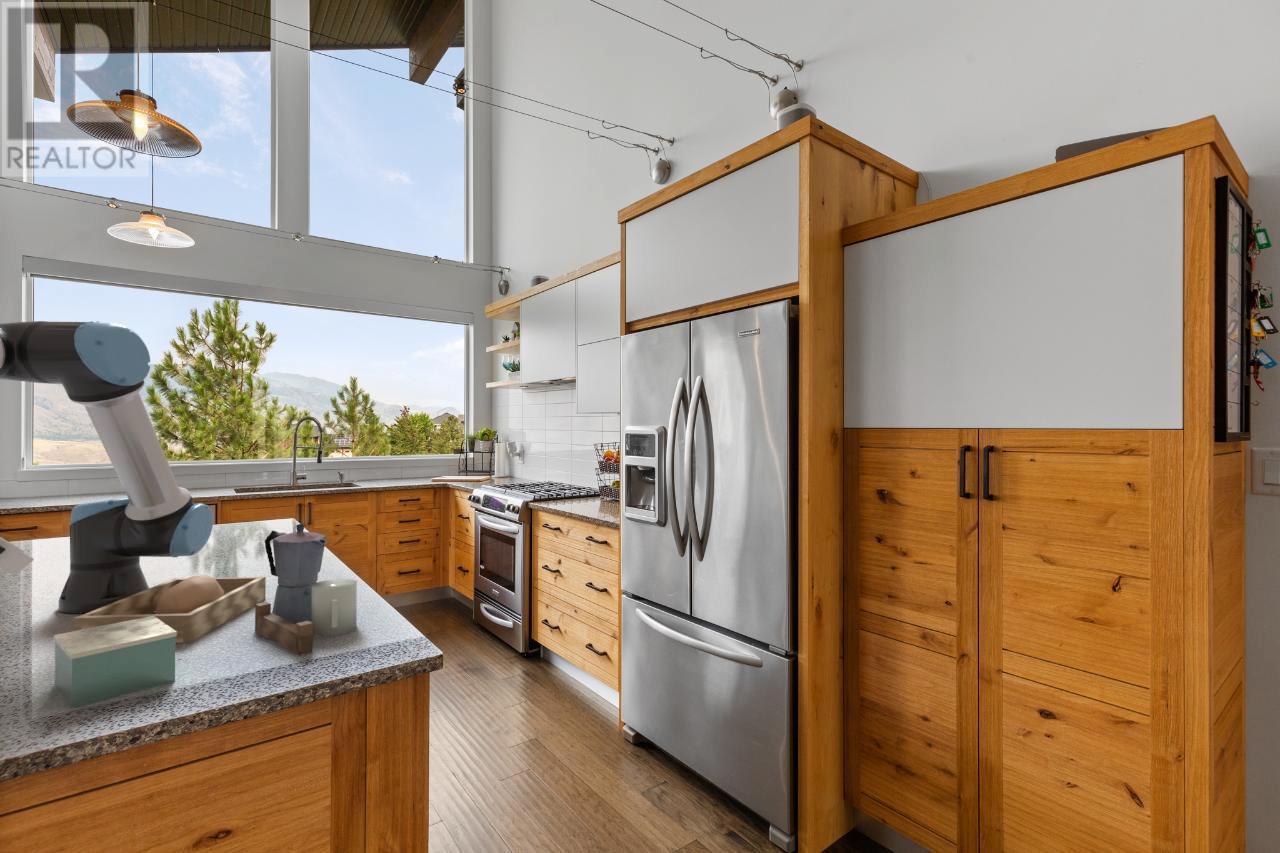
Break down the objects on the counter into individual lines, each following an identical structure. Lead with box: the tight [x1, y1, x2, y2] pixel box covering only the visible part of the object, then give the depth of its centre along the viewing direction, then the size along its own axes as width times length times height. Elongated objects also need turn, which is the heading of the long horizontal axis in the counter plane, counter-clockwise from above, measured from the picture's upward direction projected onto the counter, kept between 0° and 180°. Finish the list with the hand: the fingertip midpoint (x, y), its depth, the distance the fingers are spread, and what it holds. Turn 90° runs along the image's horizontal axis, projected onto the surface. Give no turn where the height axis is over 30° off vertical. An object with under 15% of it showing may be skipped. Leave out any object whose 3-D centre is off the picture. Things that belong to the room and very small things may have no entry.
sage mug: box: [311, 578, 358, 637], centre depth 119 cm, size 10×8×9 cm
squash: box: [151, 574, 224, 614], centre depth 125 cm, size 11×20×9 cm, turn 59°
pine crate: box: [73, 576, 267, 644], centre depth 125 cm, size 28×19×5 cm
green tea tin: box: [53, 616, 177, 710], centre depth 95 cm, size 12×12×8 cm
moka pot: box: [264, 523, 328, 624], centre depth 125 cm, size 10×15×20 cm, turn 78°
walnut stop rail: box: [254, 601, 314, 656], centre depth 113 cm, size 20×2×5 cm, turn 52°
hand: (18, 562), depth 86 cm, fingers open, 8 cm apart
